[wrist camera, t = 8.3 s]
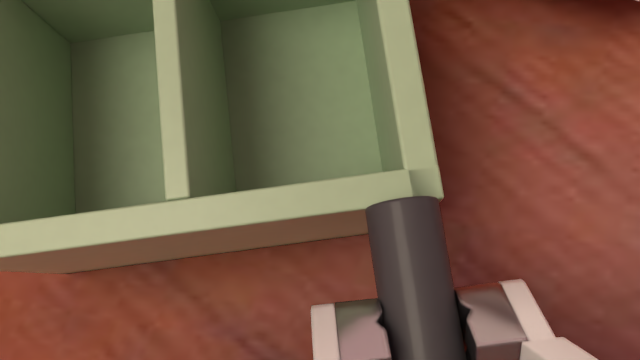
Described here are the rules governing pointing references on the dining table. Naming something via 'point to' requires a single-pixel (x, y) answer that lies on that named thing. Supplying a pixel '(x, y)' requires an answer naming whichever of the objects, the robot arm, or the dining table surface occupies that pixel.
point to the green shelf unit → (224, 142)
